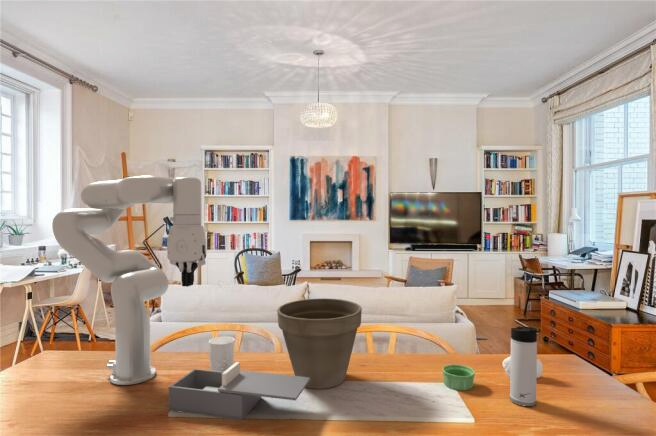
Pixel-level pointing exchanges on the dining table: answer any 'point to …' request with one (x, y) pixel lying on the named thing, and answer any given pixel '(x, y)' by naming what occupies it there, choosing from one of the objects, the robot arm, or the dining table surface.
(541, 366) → the bust
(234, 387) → the mailer lid
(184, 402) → the box
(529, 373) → the travel mug
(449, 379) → the ramekin
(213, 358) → the white cup
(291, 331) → the plant pot
